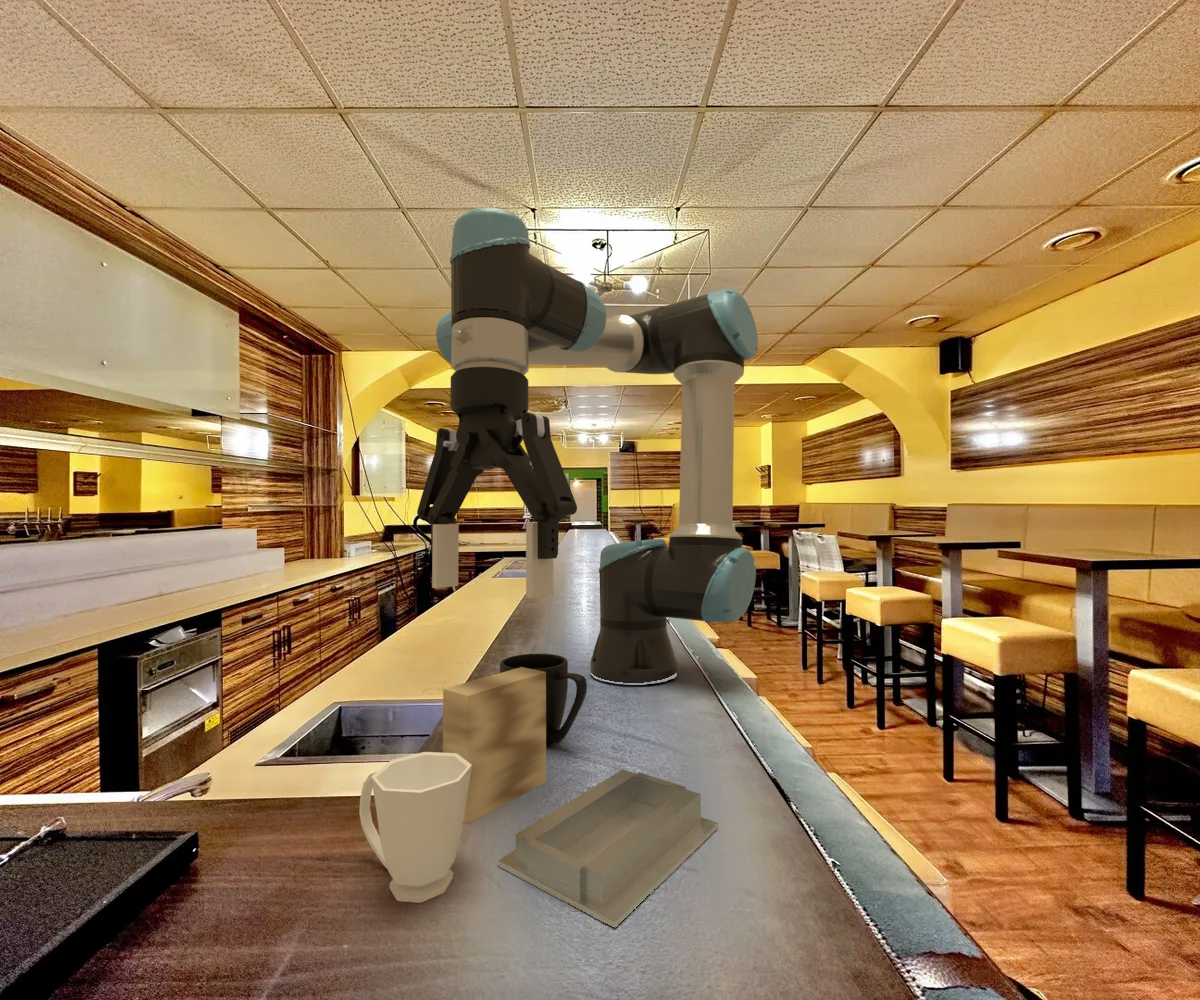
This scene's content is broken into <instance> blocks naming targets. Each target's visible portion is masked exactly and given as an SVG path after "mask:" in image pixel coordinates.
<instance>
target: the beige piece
mask: <svg viewBox="0 0 1200 1000" xmlns="http://www.w3.org/2000/svg"><path fill="white" fill-rule="evenodd" d="M701 805H702V804H701V793H699V792H696V791H692V790H689V789H687V787H686V786H684V785H680V784H679V783H674V782H672V781H669V780H664V779H662V778H659V777H656V776H652V775H649V774H647V773H643V772H638V773H636V772H632V771H630V770H627V769H621V770H619V771H618V772H616V773H615V774H613V775H611V776H610V777H608V778H606V779H604V780H603V781H601V782H600V783H598V784H596V785H595V786H593V787H591V788H590V789H588V790H586V791H584V792H583V793H581V794H579V795H578V796H576V797H575V798H573V799H572V800H569V801H568V802H566V803H565V804H563V805H561V806H560V807H558V808H557V809H554V810H553V811H551V812H550V813H548V814H547V815H545V816H544V817H541V818H540V819H538V820H536V821H535V822H533V823H532V824H530V825H528V826H526V827H525V828H523V829H522V830H519V832H517V833H515V849H514V850H512V851H511V852H509V853H508V854H506V855H504V856H503V857H501V858H500V859H498V860H497V866H498V867H499V868H501V869H503V870H504V871H507V872H509V873H510V874H512V875H514V876H516V877H517V878H520V879H521V880H523V881H525V882H527V883H529V884H531V885H532V886H534V887H536V888H538V889H540V890H542V891H544V892H546V893H547V894H549V895H551V896H553V897H555V898H557V899H559V900H560V901H562V902H564V903H566V904H568V903H569V904H570V905H569V904H568V905H569V906H571V905H572V907H573V906H574V908H575V907H576V908H575V909H577V908H578V909H577V910H579V909H580V910H579V911H581V910H582V911H583V912H582V911H581V912H582V913H584V912H586V913H587V914H586V913H585V914H586V915H588V914H589V915H588V916H590V915H591V916H590V917H592V916H593V917H592V918H594V917H595V918H596V920H597V919H598V920H597V921H599V920H600V921H599V922H601V921H602V922H601V923H603V922H605V923H607V924H609V925H611V926H612V927H614V928H615V927H617V926H618V924H619V923H621V921H623V919H625V918H626V917H627V915H629V914H630V912H631V911H632V910H634V909H635V907H636V906H637V905H638V904H640V902H642V900H644V898H645V897H647V896H648V895H649V894H650V893H651V894H652V893H654V892H655V890H656V889H658V888H659V886H661V885H662V884H663V883H664V882H665V881H666V880H667V879H668V878H669V877H670V876H671V875H672V874H673V873H674V872H675V871H676V870H677V869H678V868H679V867H680V866H681V865H682V864H683V863H684V862H686V860H687V859H689V857H690V856H691V855H692V854H693V853H694V852H695V851H696V850H697V849H698V848H699V847H700V846H701V845H702V844H703V843H704V842H706V841H707V839H709V838H710V837H711V836H712V835H713V834H714V833H715V832H716V831H717V830H719V822H717V821H715V820H714V821H713V820H710V819H708V818H707V817H702V813H701V809H702V806H701ZM654 889H655V890H654ZM651 894H650V895H651ZM650 895H649V896H650ZM649 896H648V897H649ZM648 897H647V898H648ZM644 901H645V900H644ZM642 903H643V902H642ZM640 905H641V904H640ZM635 910H636V909H635ZM635 910H634V911H635ZM630 915H631V914H630ZM630 915H629V916H630ZM595 918H594V919H595ZM627 918H628V917H627ZM627 918H626V919H627ZM626 919H625V920H626ZM623 922H624V921H623ZM605 923H604V924H605ZM621 924H622V923H621ZM612 927H611V928H612ZM618 927H619V926H618ZM618 927H617V928H618ZM614 928H613V929H614Z"/></svg>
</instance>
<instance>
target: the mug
mask: <svg viewBox="0 0 1200 1000" xmlns="http://www.w3.org/2000/svg"><path fill="white" fill-rule="evenodd" d="M568 662H569V661H568V659H567V658H566V657H564V656H561V655H559V654H558V655H557V654H550V653H526V654H525V653H524V654H519V655H517V654H515V655H511V656H509V657H506V658H503V659H502V660H501V661H500V663H499V673H502V672H506V671H509V670H513V669H516V668H520V667H524V668H529V669H534V670H539V671H543V672H546V748H548V747H551V746H553V745H556V744H559V743H560V742H561V741H563V740H564V739H565V737H566V736H567V734H568V733H569V731H570V729H571V728H572V726H573V724H574V722H575V720H576V718H577V716H578V714H579V712H580V711H581V708H582V706H583V704H584V701H585V698H586V695H587V692H588V691H587V689H588V684H587V682H588V681H587V679H586V677H585V676H583V675H582V674H579V673H573V672H568V671H569V670H568V666H569V664H568ZM569 680H572V681H574V682H575V686H576V693H575V698H574V701H573V703H572V706H571V709H570V711H569V713H568V715H567V717H566V719H565V720H564V723H563V725H562V726H561V724H562V721H563V717H564V714H565V709H566V705H567V704H566V703H567V695H568V681H569Z"/></svg>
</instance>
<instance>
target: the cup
mask: <svg viewBox="0 0 1200 1000" xmlns="http://www.w3.org/2000/svg"><path fill="white" fill-rule="evenodd" d="M471 768H472V765H471V764H470V763H469V762H468V761H466V760H465V759H464V758H462V757H461V756H460V755H458V754H457V753H443V752H436V751H435V752H434V751H422V752H418V753H415V754H410V755H407V756H402V757H399V758H395V759H392V760H389V761H388V762H387V763H386V764H385V765H383V767H381V768H380V769H379V770H376V771H374V772H373V773H370V774H368V776H367V778H366V779H365V781H364V782H363V784H362V789H361V794H360V799H359V809H358V810H359V811H358V812H359V819H360V824H361V825H360V826H361V828H362V831H363V833H364V836H365V838H366V841H368V843H369V845H370V847H371V848H372V850H373V852H374V853H375V855H376V856H377V858H378V860H379V861H380V862H381V864H382V865H383V866H384V867H385V869H387V872H388V873H389V875H390V877H391V878H392V879H391V881H390V882H389V890H390V891H391V893H392V895H393V897H394V898H395V900H396V901H397V902H406V903H416V904H417V903H419V904H421V903H424V902H425V901H428V900H430V899H433V898H435V897H437V896H440V895H442V894H444V893H445V892H446V890H447V889H448V887H449V886H450V884H451V882H452V880H453V879H454V872H453V871H452V870H451V867H452V865H453V864H454V862H455V861H456V857H457V852H458V850H459V845H460V841H461V836H462V832H463V827H464V822H463V821H464V814H465V807H466V800H467V794H468V788H469V782H470V775H471ZM372 793H373V797H374V803H375V805H374V806H375V811H376V818H377V824H378V825H377V826H378V831H379V832H378V831H377V829H376V826H375V825H374V823H373V818H372V811H371V798H372Z"/></svg>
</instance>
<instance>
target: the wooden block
mask: <svg viewBox="0 0 1200 1000" xmlns="http://www.w3.org/2000/svg"><path fill="white" fill-rule="evenodd" d="M442 692H443V693H442V696H443V697H442V753H457V754H458V755H460V756H461V757H462V758H464V759H465V760H466V761H468V762H469V763H470V764H471V765H472V768H471V775H470V782H469V788H468V794H467V800H466V807H465V814H464V821H463V824H466V825H468V824H470V823H472V822H474V821H476V820H478V819H479V818H482V817H483V816H485V815H487V814H488V813H491V812H493V811H494V810H497V809H498V808H500V807H502V806H504V805H505V804H508V803H509V802H511V801H513V800H515V799H517V798H519V797H521V796H523V795H525V794H526V793H528V792H530V791H532V790H533V789H536V788H538V787H539V786H541V785H542V784H545V783H546V782H547V747H546V672H543V671H539V670H534V669H529V668H524V667H520V668H516V669H513V670H509V671H506V672H502V673H500V672H499V673H495V674H492V675H488V676H484V677H481V678H476V679H474V680H471V681H468V682H463V683H460V684H456V685H452V686H449V687H446V688H443V689H442Z"/></svg>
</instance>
